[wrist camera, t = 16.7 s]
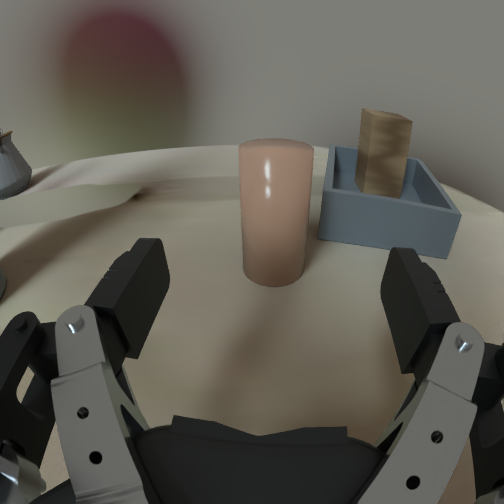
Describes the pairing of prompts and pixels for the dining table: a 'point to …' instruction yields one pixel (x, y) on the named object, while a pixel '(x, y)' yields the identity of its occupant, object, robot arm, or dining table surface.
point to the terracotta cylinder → (274, 208)
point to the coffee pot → (12, 168)
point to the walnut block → (382, 153)
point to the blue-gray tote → (386, 209)
